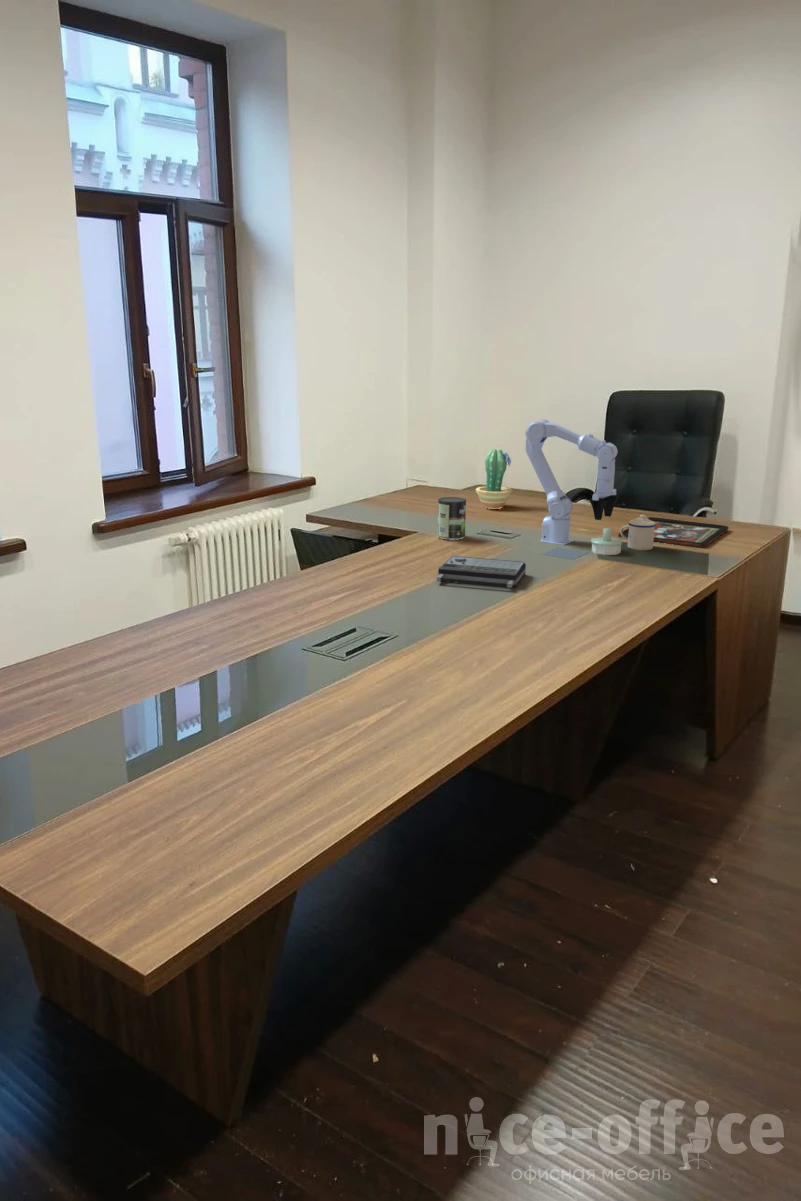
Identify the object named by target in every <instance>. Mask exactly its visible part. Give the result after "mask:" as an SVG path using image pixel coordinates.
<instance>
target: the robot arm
mask: <svg viewBox="0 0 801 1201" xmlns="http://www.w3.org/2000/svg"><path fill="white" fill-rule="evenodd" d="M524 435H525V453H526V455H527V457H528V460H529V461H530V463H531V465H532V468H533V470H534V471H535V473H536V475H537V478H538V480H539V482H540V485H541V486H542V488H543V490H544V492H545V494H546V503H547V505H548V514H549V515H548V516H547V515H546V516H545V517H544V518H543V520H542V524H541V539H540V542H543V543H549V544H555V545H562V546H565V545H567V544H570V543H572V542H574V540H573V539H570V532H571V531H570V530H571V515H570V513H571V512H572V510H573V506H574V505H573V501H572V499H570V498H569V497H568V496H567V495H566V492H564V491H563V490H562V489H561V488H560V485H559V483H558V482H557V480H556V477H555V476H554V473H553V471H552V469H551V467H550V464H549V462H548V461H547V459H546V456H545V454H544V452H543V449H542V448H543V447H544V444H545V441H546V440H547V439H548V438H551V437H553V438H554V437H556V438H560V439H562V440H565V441H566V442H567V441H568V442H570V443H573V444H575V445H576V446H577V448H578V450H579V451H581V452H584V453H586V454H589V455H591V456H594V457H597V459H598V466H597V474H596V475H597V476H596V489H595V490H596V491H595V492H594V493H593V494H592V498H590V499H589V503H590V506H591V508H592V510H593V516H594V519H595V521H602V518H603V514H604V516H605V517H608V518H609V517H610V518H611V516H612V515H613V511H614V507H615V505H616V503H617V501H618V499H619V496H618V495H617V489H616V488H614V486H615V472H616V464H615V463H616V457H617V455H618V453H619V452H618V448H617V446H616V445H615V444H614V443H612V442H607V441H606V440H604V439H603V440H602V439H599V438H596V437H594V434H592V433H589V434H588V433H585V434H583V435H580V434H579V433H577V432H574V431H572V430H571V429H568V428H566V427H564V426H562V425H560V424H558V423H556V422H553V421H549V420H547V419H540V420H537V421H533V422H530V423H529V425H528V427H527V429H526V430H525V433H524Z"/></svg>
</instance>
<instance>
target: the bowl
mask: <svg viewBox="0 0 801 1201" xmlns="http://www.w3.org/2000/svg"><path fill="white" fill-rule="evenodd" d="M621 551H622V544H621V545H619V546H600V545H595V544H593V543H591V552H593V553H594V554H597V555H603V556H613V555H614V556H616V555H619V554H621Z"/></svg>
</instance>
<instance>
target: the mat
mask: <svg viewBox="0 0 801 1201" xmlns="http://www.w3.org/2000/svg"><path fill="white" fill-rule="evenodd" d="M587 554H590V552H587V551H581V550H575V549H569V548H562V547H555V548H552V549H550V550H548V551H545V552H542V553H541V555H542V556H543V555H544V556H550V557H555V558H562V559H568V560H576V559H577V558H581V557H582V556H585V555H587Z"/></svg>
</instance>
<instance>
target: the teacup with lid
mask: <svg viewBox="0 0 801 1201" xmlns="http://www.w3.org/2000/svg"><path fill="white" fill-rule="evenodd" d="M625 528H626V529H628V528H629V534H628V537H625V536H624V534H623V531H624V529H625ZM654 529H655V522H653V521H651V520H649V519H648V517H647V516H646V515H645V514H640V515H639V517H637V518H634V519H631V520H629V522H628V525H623V526H622V527H621V528H620V529H619V530H620V531H619V533H620V534H621V536H622V537H623V538H622V539H624V540H627V548H628V549H630V548H631V549H630V550H636V551H650V550H653V548H654V542H653V540H654Z"/></svg>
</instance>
